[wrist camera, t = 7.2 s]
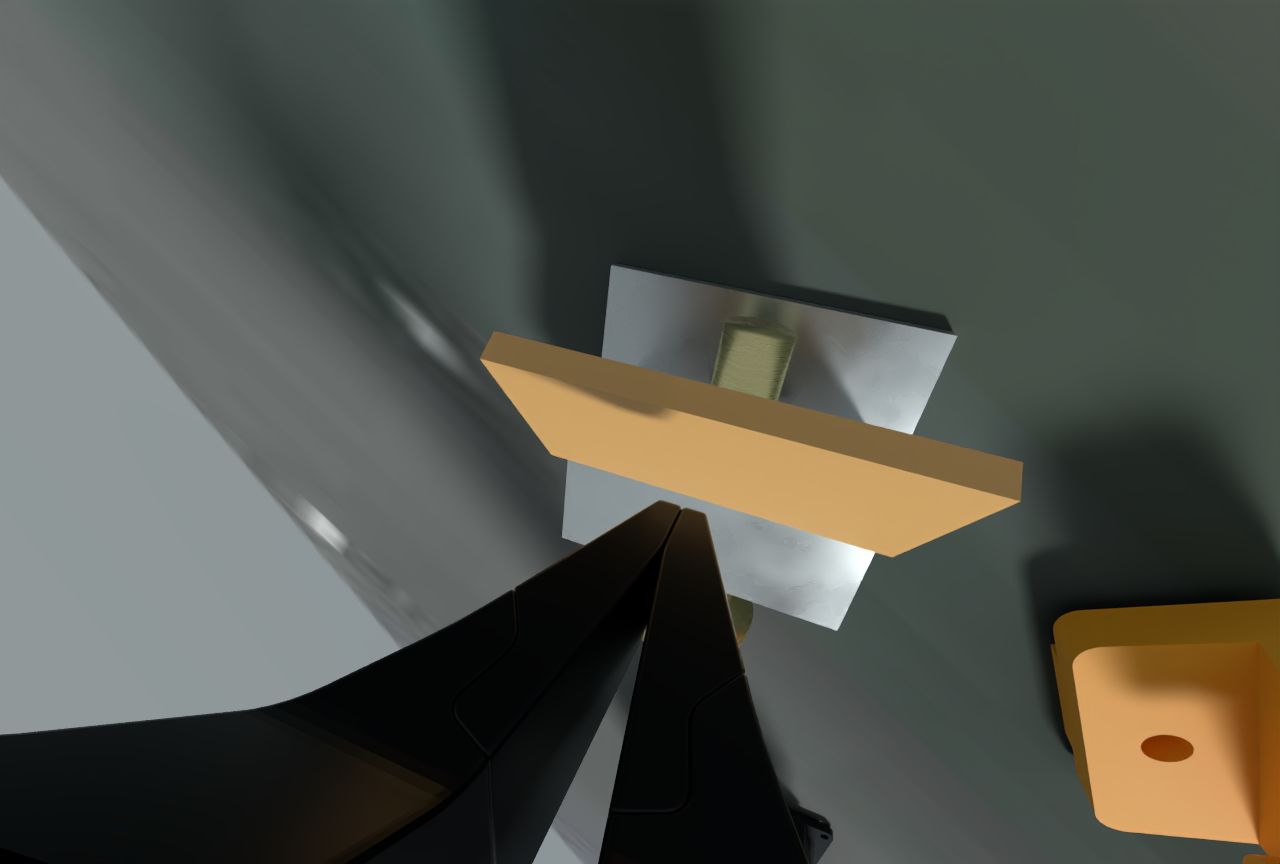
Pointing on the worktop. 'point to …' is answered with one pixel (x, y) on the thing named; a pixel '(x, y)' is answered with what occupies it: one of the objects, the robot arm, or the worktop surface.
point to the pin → (751, 392)
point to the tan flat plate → (750, 449)
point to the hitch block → (815, 379)
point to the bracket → (1177, 718)
